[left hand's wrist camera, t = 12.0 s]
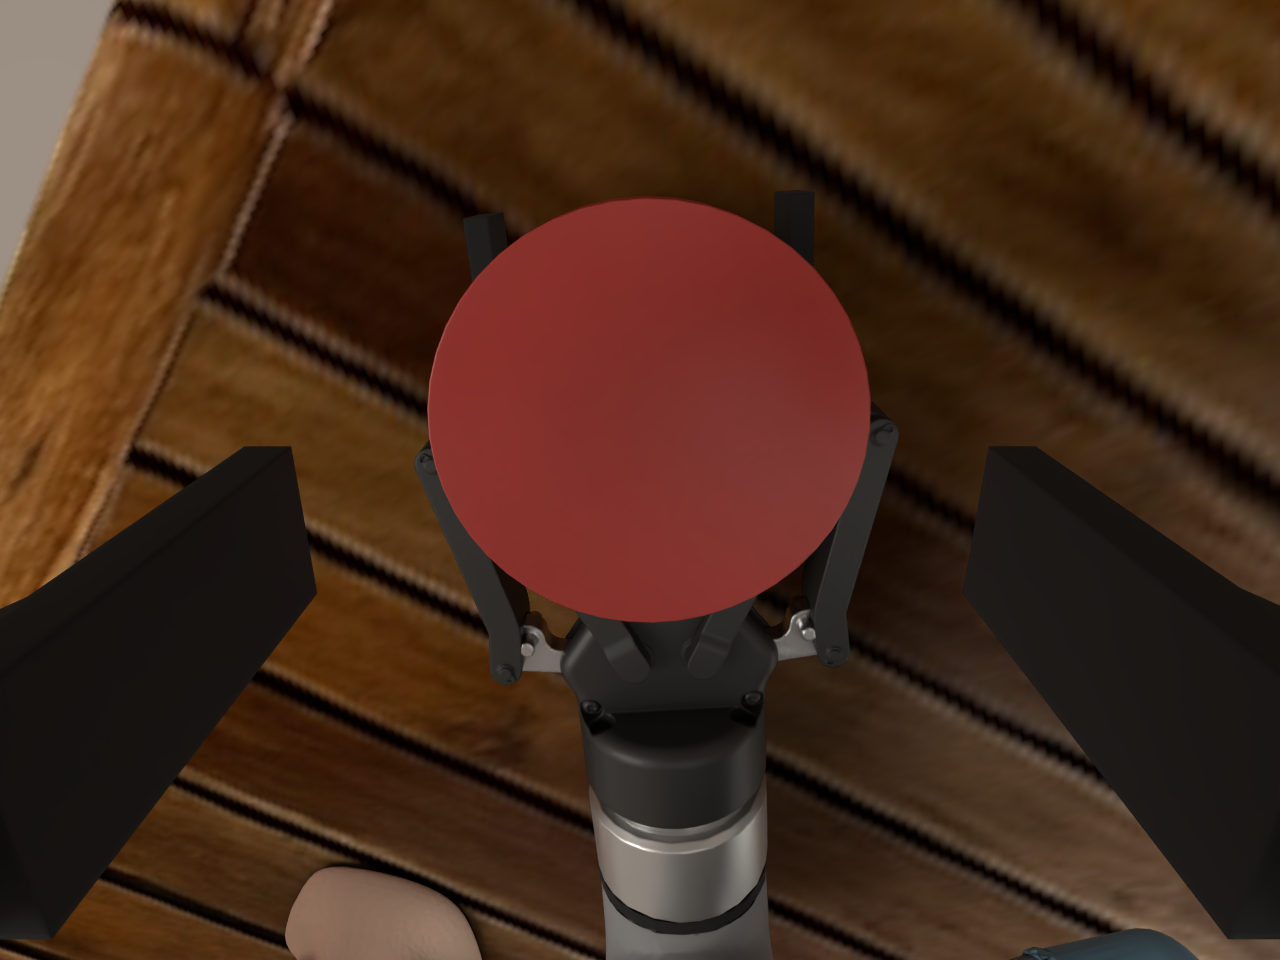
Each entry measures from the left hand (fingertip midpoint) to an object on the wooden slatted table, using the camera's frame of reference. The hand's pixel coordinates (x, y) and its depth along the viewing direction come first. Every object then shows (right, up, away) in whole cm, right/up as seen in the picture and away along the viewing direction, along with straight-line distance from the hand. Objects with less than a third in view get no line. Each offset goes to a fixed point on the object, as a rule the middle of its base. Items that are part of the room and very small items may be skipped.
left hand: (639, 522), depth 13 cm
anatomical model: (-15, -27, +32) cm, 45 cm away
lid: (0, +2, +5) cm, 5 cm away
